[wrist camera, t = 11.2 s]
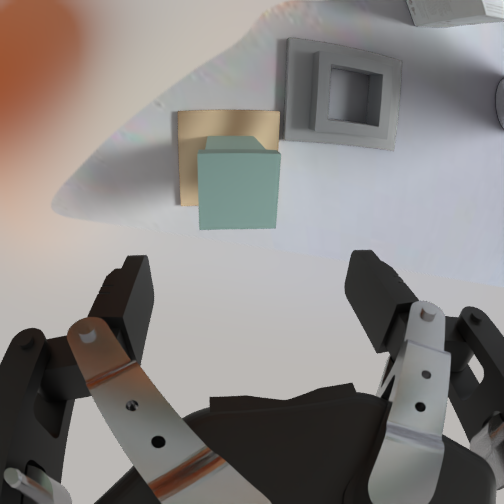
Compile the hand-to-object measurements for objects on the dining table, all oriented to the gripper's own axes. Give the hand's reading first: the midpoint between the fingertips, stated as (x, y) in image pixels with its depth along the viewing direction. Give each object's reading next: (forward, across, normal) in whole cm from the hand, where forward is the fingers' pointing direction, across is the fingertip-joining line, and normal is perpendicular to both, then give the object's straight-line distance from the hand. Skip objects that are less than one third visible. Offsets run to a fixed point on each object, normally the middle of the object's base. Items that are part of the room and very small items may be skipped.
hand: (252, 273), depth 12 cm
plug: (+20, 0, 0) cm, 21 cm away
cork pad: (+21, 0, 0) cm, 21 cm away
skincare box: (+22, -23, -22) cm, 38 cm away
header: (+21, -12, -8) cm, 25 cm away
